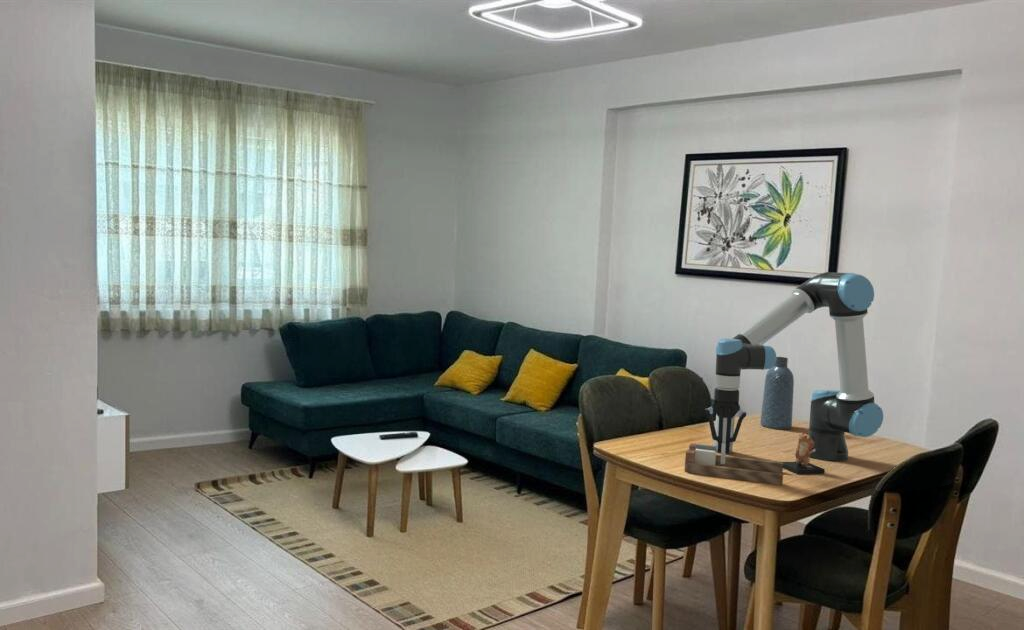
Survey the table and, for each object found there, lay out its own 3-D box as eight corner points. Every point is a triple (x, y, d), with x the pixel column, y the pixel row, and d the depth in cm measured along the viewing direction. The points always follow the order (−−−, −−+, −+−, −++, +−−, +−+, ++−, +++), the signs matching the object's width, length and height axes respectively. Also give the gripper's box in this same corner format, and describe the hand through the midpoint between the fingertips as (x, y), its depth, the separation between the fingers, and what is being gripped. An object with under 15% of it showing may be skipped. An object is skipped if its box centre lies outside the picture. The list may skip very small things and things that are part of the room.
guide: (782, 471, 268) (783, 453, 268) (782, 485, 252) (783, 465, 252) (689, 460, 277) (691, 442, 276) (683, 472, 261) (685, 453, 260)
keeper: (715, 467, 269) (717, 444, 268) (714, 471, 263) (715, 448, 263) (695, 464, 271) (696, 442, 270) (693, 468, 265) (694, 446, 265)
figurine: (824, 474, 269) (827, 436, 268) (797, 474, 266) (800, 437, 265) (805, 465, 279) (808, 429, 278) (778, 466, 276) (781, 430, 275)
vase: (762, 428, 338) (767, 358, 336) (758, 422, 350) (763, 354, 348) (793, 430, 336) (799, 360, 334) (788, 424, 348) (794, 356, 346)
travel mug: (733, 454, 289) (738, 396, 287) (713, 452, 290) (718, 395, 288) (732, 450, 295) (736, 393, 293) (713, 448, 296) (717, 392, 294)
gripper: (748, 388, 265) (744, 462, 267) (707, 385, 269) (703, 458, 271) (747, 391, 258) (743, 467, 260) (705, 388, 262) (701, 463, 264)
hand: (722, 462), depth 265 cm, fingers closed
